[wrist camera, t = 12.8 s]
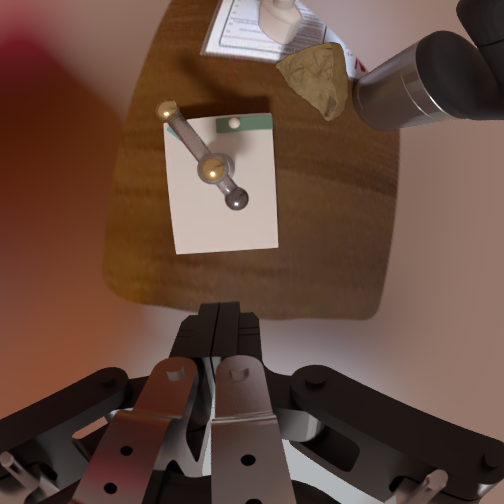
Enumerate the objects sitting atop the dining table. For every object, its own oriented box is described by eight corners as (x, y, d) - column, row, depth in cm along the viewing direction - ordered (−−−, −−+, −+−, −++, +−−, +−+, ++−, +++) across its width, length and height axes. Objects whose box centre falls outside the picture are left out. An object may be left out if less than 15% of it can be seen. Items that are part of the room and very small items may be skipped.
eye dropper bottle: (267, 49, 32) (275, 8, 20) (256, 20, 30) (260, -24, 19) (296, 44, 31) (313, 5, 20) (284, 16, 30) (297, -27, 18)
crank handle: (254, 195, 33) (256, 201, 28) (233, 211, 34) (231, 220, 28) (181, 101, 30) (168, 89, 24) (160, 117, 30) (144, 108, 24)
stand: (269, 116, 35) (272, 109, 30) (276, 242, 40) (280, 252, 36) (168, 125, 35) (158, 120, 30) (180, 249, 40) (172, 259, 35)
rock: (364, 120, 33) (355, 54, 29) (348, 120, 27) (336, 39, 23) (295, 123, 39) (287, 63, 35) (266, 125, 33) (255, 54, 29)
